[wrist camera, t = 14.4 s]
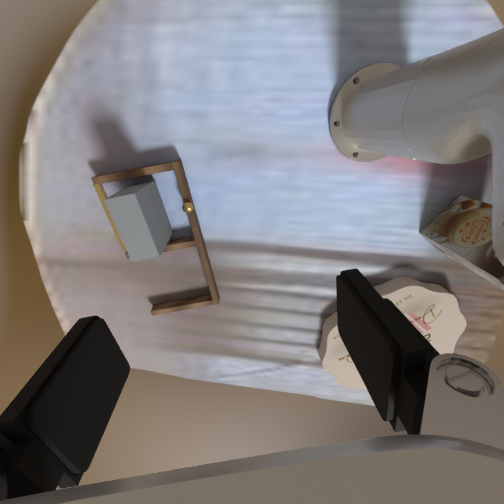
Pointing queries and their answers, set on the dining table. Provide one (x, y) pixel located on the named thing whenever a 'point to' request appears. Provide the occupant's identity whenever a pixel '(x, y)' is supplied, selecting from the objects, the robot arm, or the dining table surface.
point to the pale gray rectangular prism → (140, 220)
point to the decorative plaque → (416, 311)
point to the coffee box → (467, 237)
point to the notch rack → (173, 244)
